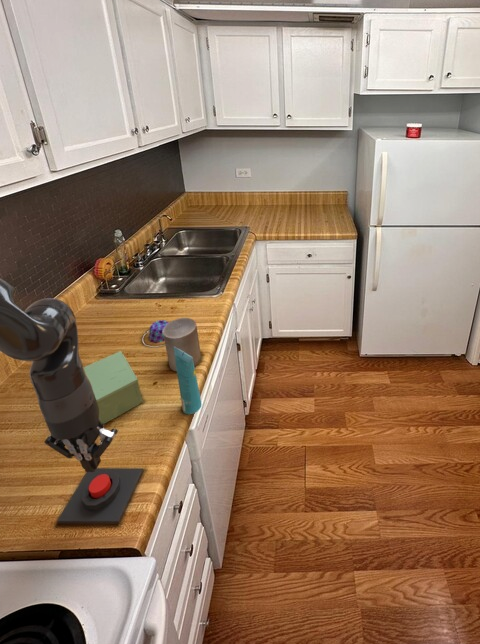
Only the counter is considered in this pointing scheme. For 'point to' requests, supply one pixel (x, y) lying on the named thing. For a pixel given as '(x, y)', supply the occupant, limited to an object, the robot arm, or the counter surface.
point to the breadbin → (119, 403)
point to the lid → (110, 375)
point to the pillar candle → (182, 340)
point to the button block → (102, 498)
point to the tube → (187, 382)
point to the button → (100, 486)
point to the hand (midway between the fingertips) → (93, 467)
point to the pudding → (156, 332)
